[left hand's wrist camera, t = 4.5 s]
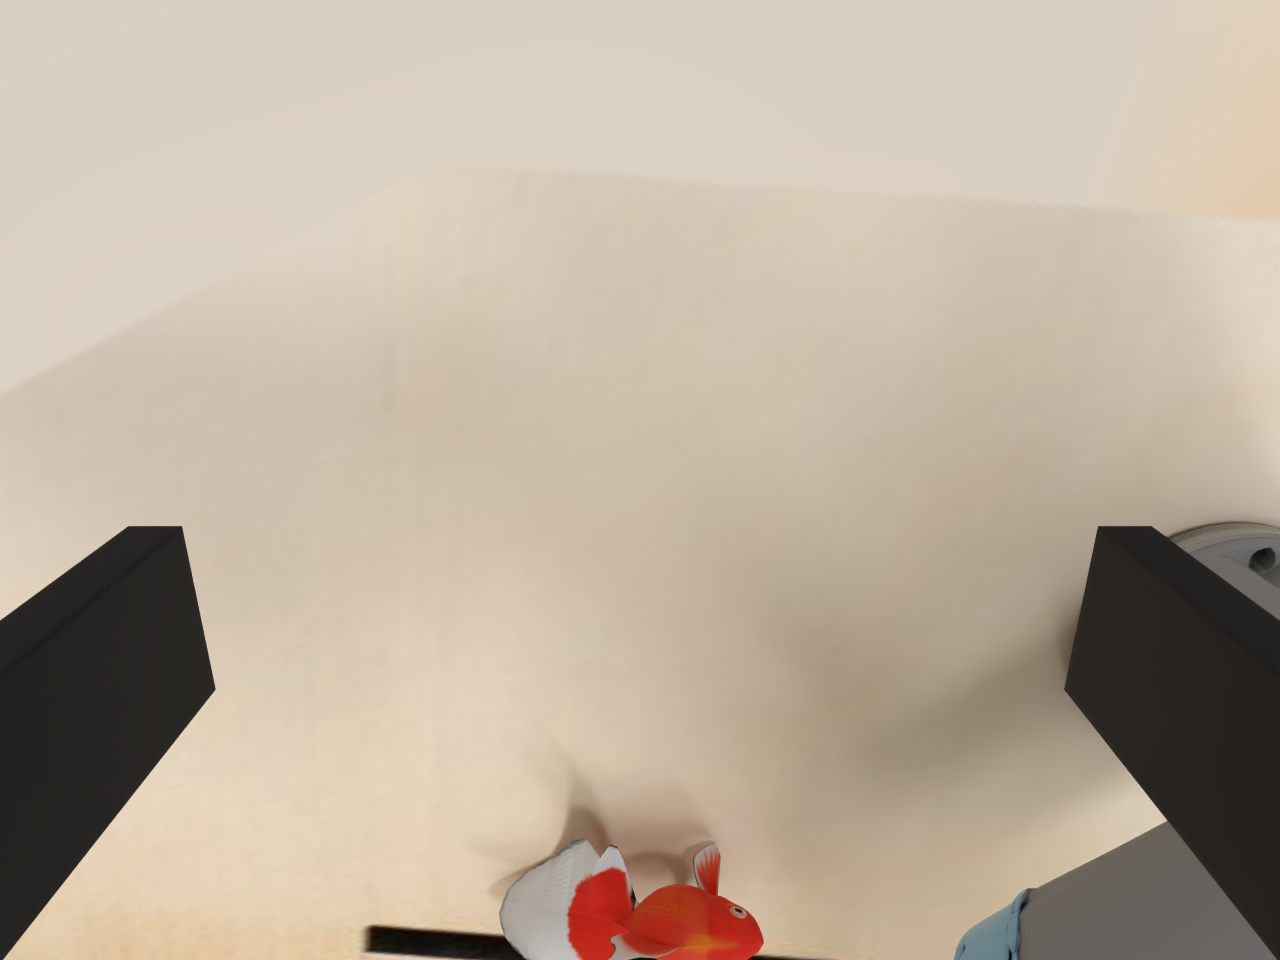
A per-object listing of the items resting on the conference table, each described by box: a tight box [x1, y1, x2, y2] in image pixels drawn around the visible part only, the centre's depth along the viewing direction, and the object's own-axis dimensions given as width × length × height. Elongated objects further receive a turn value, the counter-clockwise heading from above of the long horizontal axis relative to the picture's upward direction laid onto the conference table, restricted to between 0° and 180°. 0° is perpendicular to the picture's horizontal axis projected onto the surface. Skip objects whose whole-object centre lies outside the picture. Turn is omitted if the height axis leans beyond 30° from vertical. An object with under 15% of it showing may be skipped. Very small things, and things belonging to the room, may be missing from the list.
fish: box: [499, 839, 764, 960], centre depth 52 cm, size 11×16×10 cm
